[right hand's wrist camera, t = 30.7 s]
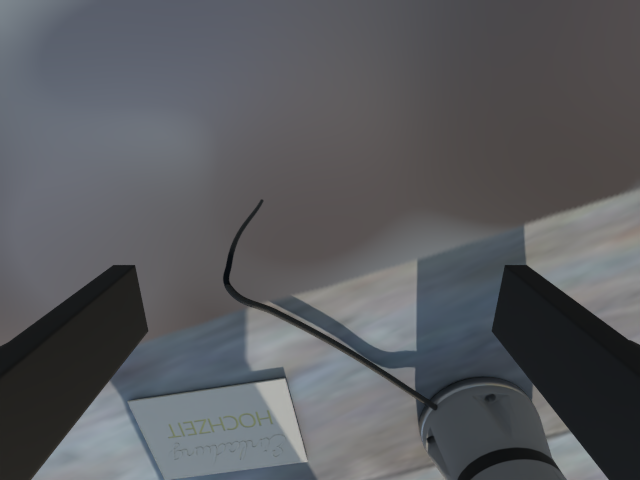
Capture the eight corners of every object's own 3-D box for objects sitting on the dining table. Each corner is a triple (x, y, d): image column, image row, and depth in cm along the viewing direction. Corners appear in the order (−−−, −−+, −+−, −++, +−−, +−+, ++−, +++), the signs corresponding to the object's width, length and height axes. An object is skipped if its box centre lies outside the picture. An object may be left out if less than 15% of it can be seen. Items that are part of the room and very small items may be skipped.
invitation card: (285, 379, 44) (307, 462, 49) (285, 377, 44) (307, 460, 49) (127, 402, 45) (164, 480, 51) (128, 400, 46) (165, 479, 51)
